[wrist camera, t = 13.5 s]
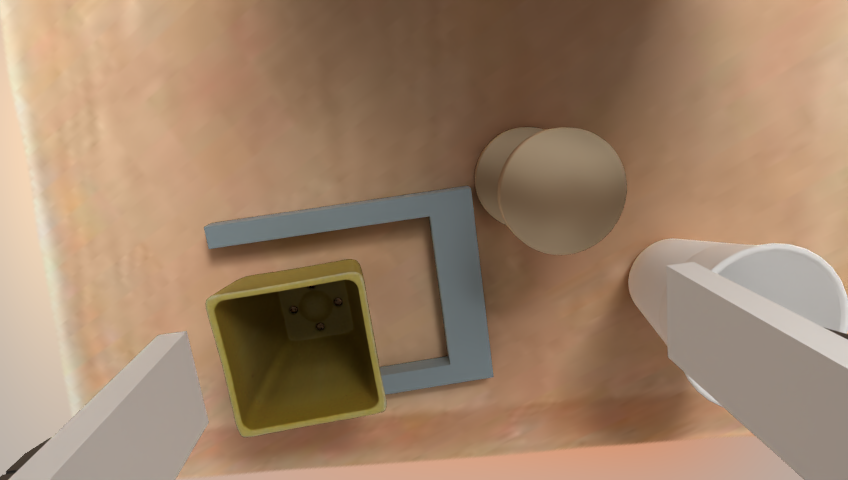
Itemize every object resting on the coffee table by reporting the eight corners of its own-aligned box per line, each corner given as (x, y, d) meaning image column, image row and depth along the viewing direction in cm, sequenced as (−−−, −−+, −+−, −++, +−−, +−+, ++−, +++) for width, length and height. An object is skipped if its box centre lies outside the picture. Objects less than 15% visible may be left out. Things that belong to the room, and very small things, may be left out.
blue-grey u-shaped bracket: (251, 406, 41) (247, 416, 39) (210, 223, 38) (203, 227, 36) (489, 368, 42) (493, 377, 40) (467, 185, 39) (470, 188, 37)
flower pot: (387, 351, 41) (388, 414, 32) (270, 372, 40) (238, 440, 32) (366, 237, 39) (361, 270, 30) (243, 257, 38) (202, 297, 30)
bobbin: (468, 134, 38) (494, 137, 29) (567, 120, 38) (622, 119, 29) (480, 232, 39) (508, 263, 31) (575, 218, 40) (630, 245, 31)
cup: (625, 359, 42) (708, 439, 31) (582, 245, 40) (655, 289, 29) (744, 307, 42) (868, 370, 31) (707, 190, 40) (827, 214, 29)
